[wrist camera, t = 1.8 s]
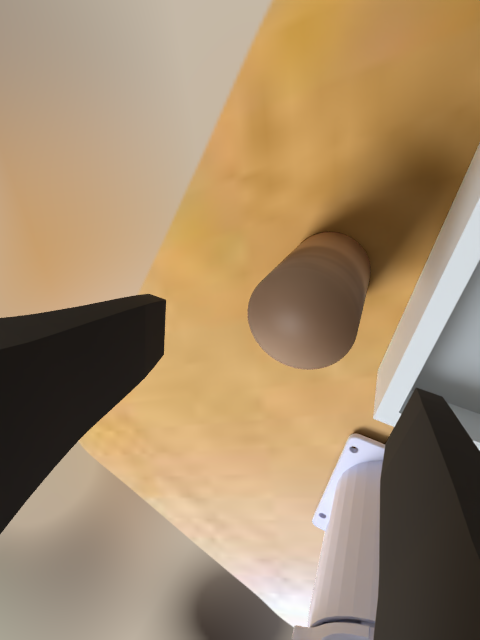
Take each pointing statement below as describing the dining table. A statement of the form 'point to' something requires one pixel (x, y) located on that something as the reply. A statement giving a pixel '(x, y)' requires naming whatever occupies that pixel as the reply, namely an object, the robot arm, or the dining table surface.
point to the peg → (312, 302)
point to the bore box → (441, 321)
